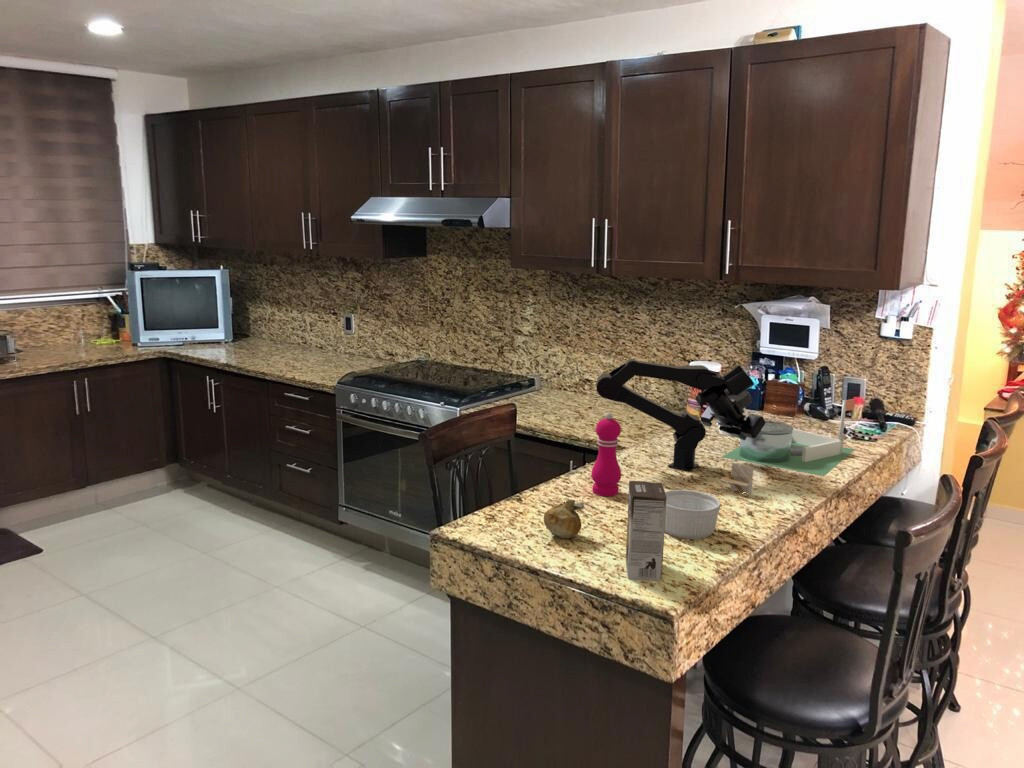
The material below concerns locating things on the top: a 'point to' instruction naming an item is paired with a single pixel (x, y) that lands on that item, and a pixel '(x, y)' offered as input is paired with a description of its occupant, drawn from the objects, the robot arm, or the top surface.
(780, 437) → the chrome metal canister
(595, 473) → the pepper mill
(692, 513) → the ramekin
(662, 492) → the coffee box
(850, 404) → the beige thin-walled piece
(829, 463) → the green mat
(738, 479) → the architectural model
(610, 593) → the top surface
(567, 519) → the onion
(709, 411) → the robot arm
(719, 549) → the top surface
